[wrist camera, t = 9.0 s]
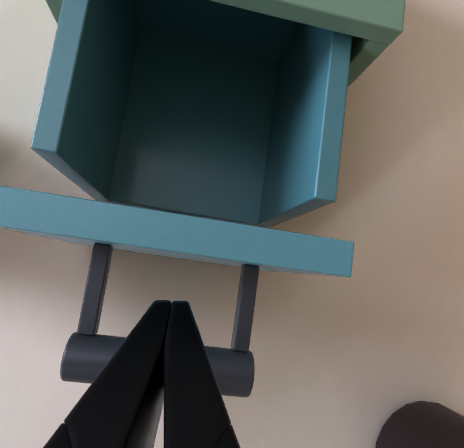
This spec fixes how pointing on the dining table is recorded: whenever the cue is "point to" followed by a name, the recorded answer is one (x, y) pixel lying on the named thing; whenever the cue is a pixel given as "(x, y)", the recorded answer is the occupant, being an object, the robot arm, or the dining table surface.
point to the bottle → (423, 427)
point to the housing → (330, 22)
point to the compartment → (187, 152)
